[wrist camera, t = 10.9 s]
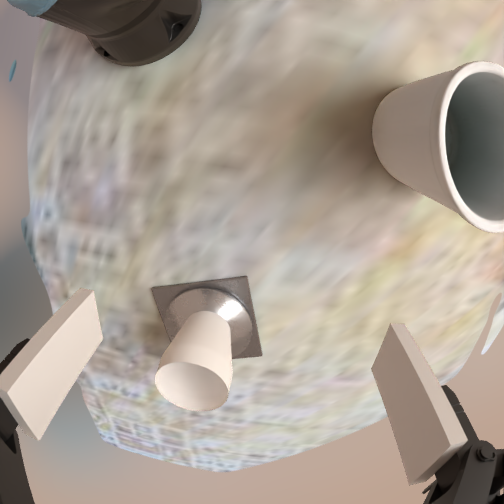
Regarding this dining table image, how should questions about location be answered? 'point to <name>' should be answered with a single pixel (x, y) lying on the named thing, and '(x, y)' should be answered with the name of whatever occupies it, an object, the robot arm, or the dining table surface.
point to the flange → (213, 310)
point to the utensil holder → (449, 140)
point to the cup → (197, 364)
